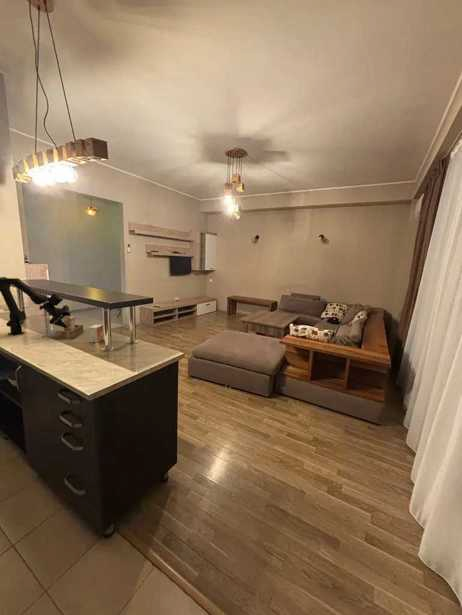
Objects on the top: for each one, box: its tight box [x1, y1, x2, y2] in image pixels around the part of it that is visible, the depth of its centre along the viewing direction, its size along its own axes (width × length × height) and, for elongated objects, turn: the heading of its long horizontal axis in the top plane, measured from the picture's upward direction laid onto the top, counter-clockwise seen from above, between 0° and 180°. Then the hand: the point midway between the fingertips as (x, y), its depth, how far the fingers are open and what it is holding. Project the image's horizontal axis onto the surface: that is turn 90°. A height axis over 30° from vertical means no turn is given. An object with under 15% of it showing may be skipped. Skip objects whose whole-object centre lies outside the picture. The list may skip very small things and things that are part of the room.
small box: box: [88, 324, 104, 344], centre depth 166 cm, size 8×6×10 cm
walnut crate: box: [55, 324, 84, 340], centre depth 174 cm, size 10×17×5 cm, turn 9°
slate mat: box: [41, 330, 56, 338], centre depth 173 cm, size 11×12×1 cm
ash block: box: [63, 315, 76, 331], centre depth 173 cm, size 5×5×13 cm
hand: (70, 325), depth 173 cm, fingers open, 9 cm apart
